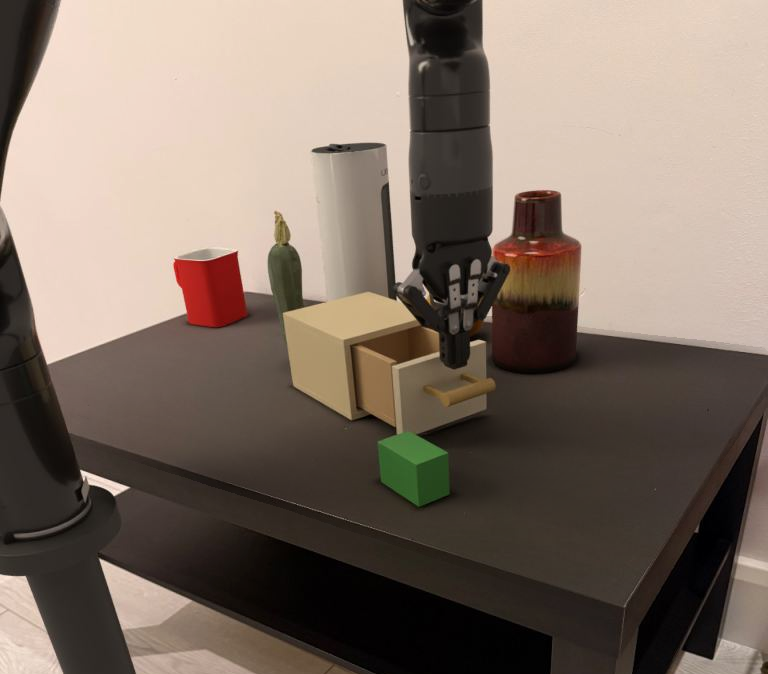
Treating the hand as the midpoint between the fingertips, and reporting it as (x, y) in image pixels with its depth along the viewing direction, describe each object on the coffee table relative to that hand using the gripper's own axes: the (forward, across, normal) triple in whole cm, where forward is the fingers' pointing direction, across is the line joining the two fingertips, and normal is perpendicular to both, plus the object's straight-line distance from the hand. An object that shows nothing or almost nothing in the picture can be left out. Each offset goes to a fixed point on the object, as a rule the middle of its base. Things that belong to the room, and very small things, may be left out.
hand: (454, 366), depth 78 cm
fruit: (+8, -20, -26) cm, 34 cm away
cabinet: (+8, 0, -19) cm, 21 cm away
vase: (+8, -22, -12) cm, 27 cm away
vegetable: (+8, +2, -33) cm, 34 cm away
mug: (+8, +2, -64) cm, 65 cm away
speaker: (+8, -12, -38) cm, 41 cm away
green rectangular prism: (+8, +10, +6) cm, 14 cm away
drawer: (+7, 0, -6) cm, 10 cm away
